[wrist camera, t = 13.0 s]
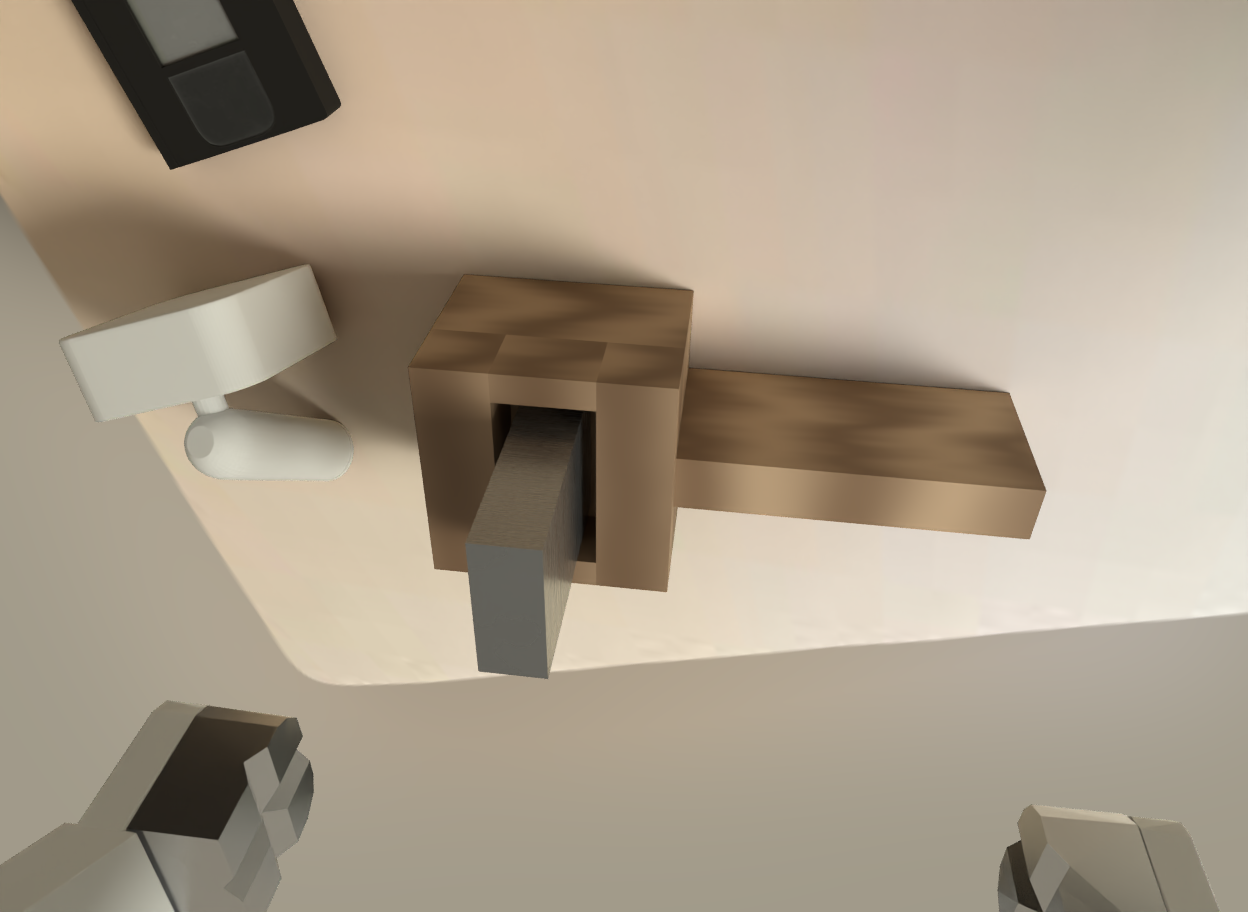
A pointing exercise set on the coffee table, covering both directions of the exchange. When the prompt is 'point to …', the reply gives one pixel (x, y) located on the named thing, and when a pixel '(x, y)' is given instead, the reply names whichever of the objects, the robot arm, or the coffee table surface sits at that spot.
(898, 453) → the slotted wooden socket block
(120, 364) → the wall hook
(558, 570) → the grey wood block
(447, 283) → the coffee table surface
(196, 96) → the vhs tape
